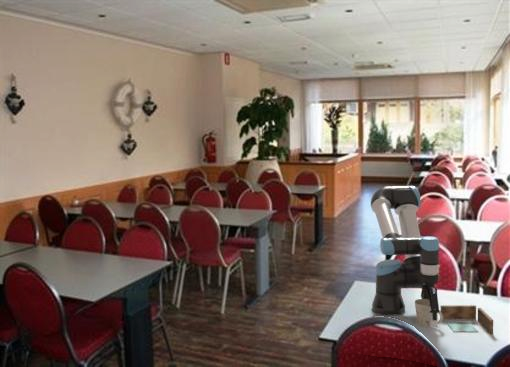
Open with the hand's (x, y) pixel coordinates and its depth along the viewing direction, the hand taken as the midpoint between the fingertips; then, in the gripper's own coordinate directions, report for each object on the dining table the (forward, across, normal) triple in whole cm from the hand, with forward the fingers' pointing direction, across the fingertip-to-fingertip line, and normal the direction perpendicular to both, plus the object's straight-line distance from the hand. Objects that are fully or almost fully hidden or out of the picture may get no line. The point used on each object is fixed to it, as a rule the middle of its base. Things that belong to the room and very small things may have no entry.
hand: (429, 321), depth 211 cm
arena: (+2, 0, -15) cm, 15 cm away
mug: (+2, 0, 0) cm, 2 cm away
